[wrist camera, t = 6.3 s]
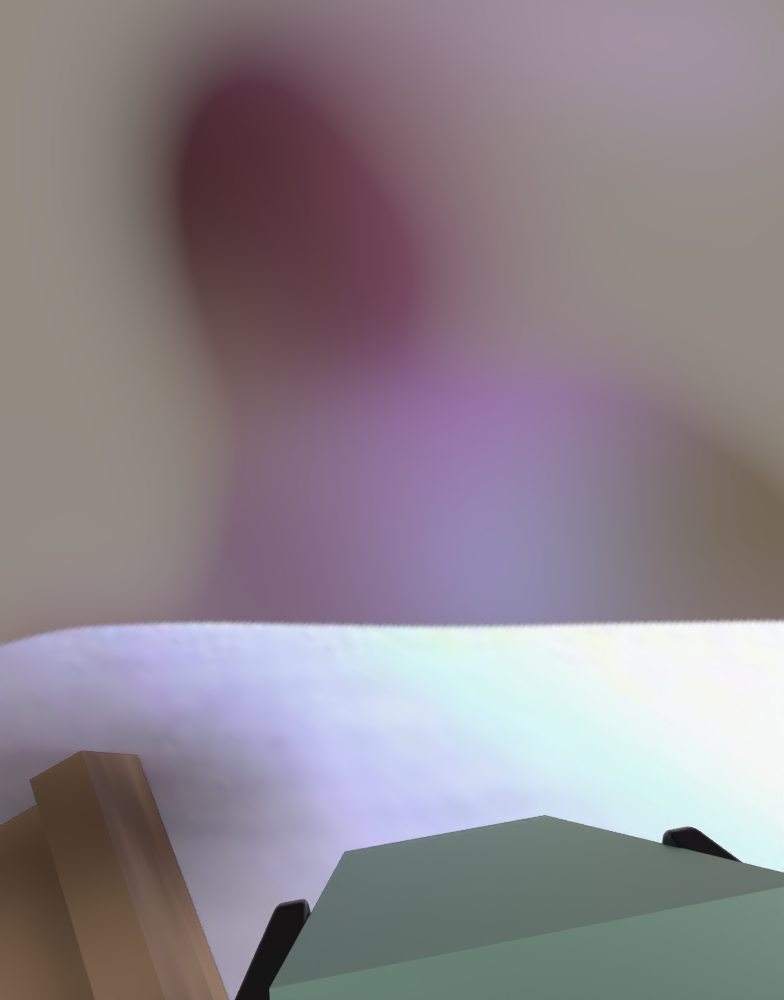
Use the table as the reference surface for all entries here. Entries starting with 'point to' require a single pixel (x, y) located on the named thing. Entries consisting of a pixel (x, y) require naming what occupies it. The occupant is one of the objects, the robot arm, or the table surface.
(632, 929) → the book
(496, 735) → the table surface
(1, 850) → the tray
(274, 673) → the table surface
